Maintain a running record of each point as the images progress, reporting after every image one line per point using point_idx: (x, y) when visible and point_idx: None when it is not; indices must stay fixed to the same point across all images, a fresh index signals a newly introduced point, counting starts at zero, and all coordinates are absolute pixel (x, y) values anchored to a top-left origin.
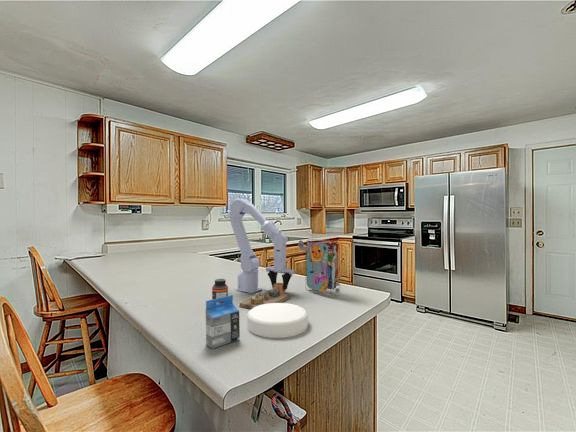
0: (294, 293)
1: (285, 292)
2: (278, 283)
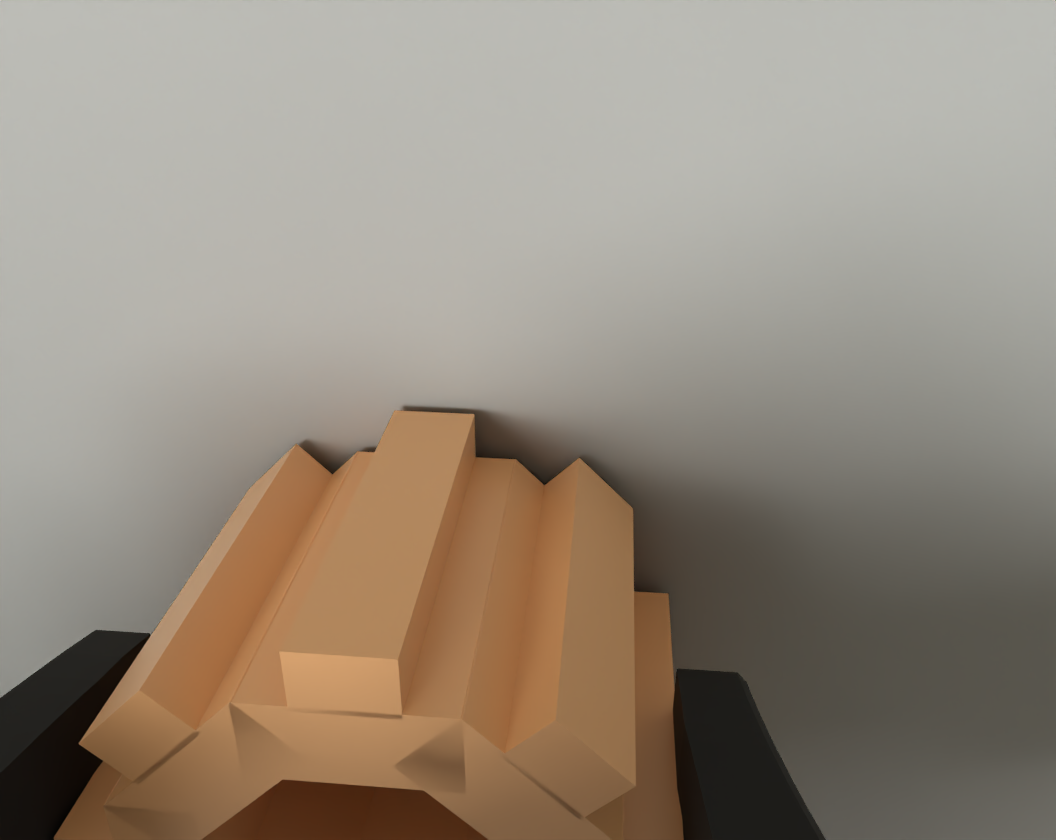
0: (1013, 412)
1: (628, 514)
2: (223, 816)
